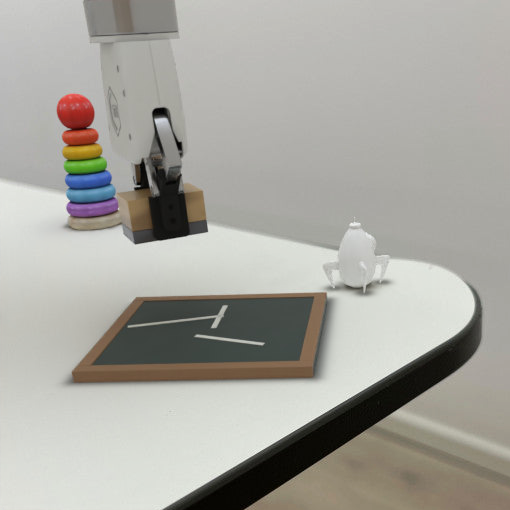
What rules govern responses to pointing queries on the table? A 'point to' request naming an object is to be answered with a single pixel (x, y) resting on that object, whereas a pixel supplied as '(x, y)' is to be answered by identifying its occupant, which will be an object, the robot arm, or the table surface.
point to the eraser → (139, 215)
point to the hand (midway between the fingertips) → (164, 229)
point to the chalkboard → (209, 339)
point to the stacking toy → (85, 168)
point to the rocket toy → (356, 259)
